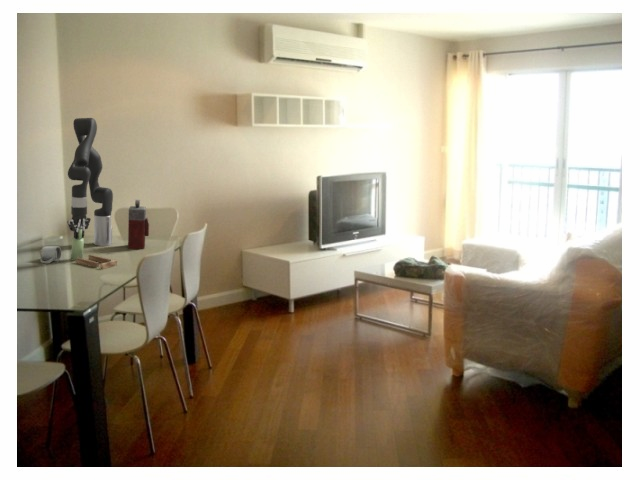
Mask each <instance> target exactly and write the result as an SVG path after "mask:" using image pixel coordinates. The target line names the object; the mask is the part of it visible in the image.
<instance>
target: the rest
mask: <svg viewBox="0 0 640 480" xmlns="http://www.w3.org/2000/svg"><path fill="white" fill-rule="evenodd" d="M96 261H97V262H96ZM100 262H101V263H100ZM78 263H79V265H83V266H87V265H88V266H87V267H91V266H94V267H93V268H95V267H98V268H99V267H100V268H101V269H100V268H99V269H100V270H105V268H106V269H110V268H113V267H115V266H116V267H117V266H118V260H116V259H114V260H112V259H111V258H106V257H103V256H98V255H94V254H88V259H85V258H83V257H82V258H76V261H75V264H78Z"/></svg>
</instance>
